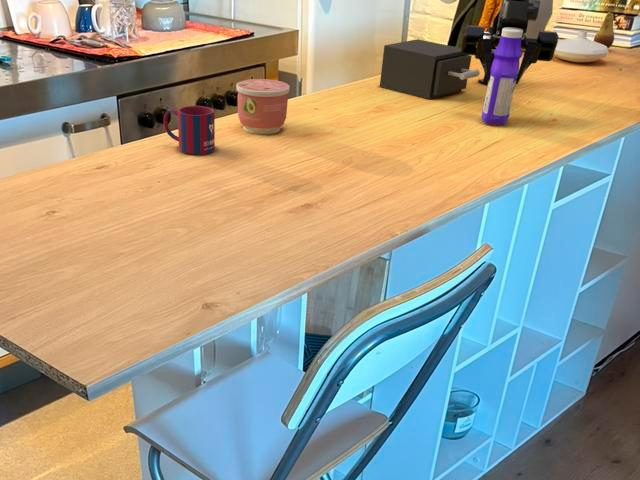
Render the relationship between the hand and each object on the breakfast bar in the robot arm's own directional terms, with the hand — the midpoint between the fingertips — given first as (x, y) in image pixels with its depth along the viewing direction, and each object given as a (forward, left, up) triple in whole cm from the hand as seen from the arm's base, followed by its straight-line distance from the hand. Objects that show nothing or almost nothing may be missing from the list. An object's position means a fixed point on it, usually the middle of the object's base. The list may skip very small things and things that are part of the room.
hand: (502, 81), depth 167 cm
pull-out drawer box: (-12, -24, -7) cm, 28 cm away
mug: (+62, -27, -8) cm, 68 cm away
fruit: (-95, -26, -8) cm, 99 cm away
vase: (-75, -23, -8) cm, 79 cm away
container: (+42, -28, -8) cm, 51 cm away
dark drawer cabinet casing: (-12, -29, -8) cm, 32 cm away
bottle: (-1, -1, -8) cm, 8 cm away
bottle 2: (-72, -38, -8) cm, 82 cm away
